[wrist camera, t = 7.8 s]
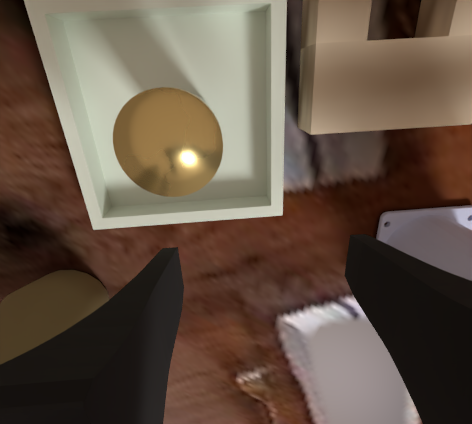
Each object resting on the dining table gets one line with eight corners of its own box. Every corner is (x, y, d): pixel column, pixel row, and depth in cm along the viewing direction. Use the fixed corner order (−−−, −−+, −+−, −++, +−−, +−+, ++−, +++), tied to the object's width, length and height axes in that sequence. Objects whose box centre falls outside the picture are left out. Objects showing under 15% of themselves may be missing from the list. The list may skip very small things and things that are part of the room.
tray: (275, 201, 22) (282, 215, 20) (106, 213, 21) (93, 229, 19) (277, -4, 16) (287, -18, 14) (49, 6, 16) (22, -6, 14)
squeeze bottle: (43, 240, 22) (-441, 689, 6) (139, 283, 24) (-15, 690, 8) (11, 307, 25) (-389, 753, 8) (100, 341, 27) (-76, 739, 11)
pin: (221, 147, 19) (225, 194, 11) (162, 149, 19) (124, 199, 11) (218, 83, 18) (221, 86, 10) (153, 84, 17) (101, 88, 9)
